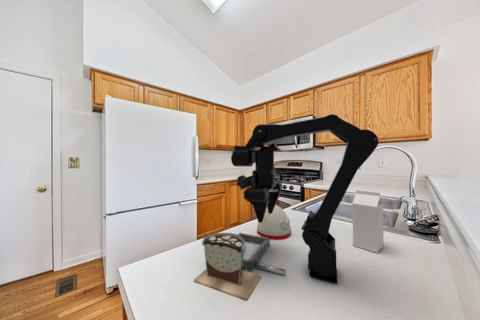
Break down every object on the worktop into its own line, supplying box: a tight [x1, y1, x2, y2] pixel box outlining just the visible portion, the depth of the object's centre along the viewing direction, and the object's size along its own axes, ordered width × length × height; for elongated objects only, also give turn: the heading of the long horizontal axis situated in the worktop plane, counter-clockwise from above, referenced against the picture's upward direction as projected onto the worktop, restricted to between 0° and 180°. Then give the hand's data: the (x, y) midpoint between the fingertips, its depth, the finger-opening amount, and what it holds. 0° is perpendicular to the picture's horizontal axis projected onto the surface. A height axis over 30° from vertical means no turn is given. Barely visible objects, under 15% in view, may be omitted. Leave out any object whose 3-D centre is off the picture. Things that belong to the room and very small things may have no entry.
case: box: [237, 232, 271, 272], centre depth 61 cm, size 12×17×2 cm
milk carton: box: [352, 189, 385, 254], centre depth 64 cm, size 7×7×19 cm
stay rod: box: [253, 261, 287, 276], centre depth 52 cm, size 10×1×1 cm, turn 63°
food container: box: [201, 232, 247, 286], centre depth 50 cm, size 12×6×10 cm, turn 65°
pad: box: [193, 269, 262, 302], centre depth 48 cm, size 15×9×1 cm, turn 63°
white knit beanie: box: [256, 199, 292, 241], centre depth 77 cm, size 14×14×15 cm
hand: (265, 217), depth 57 cm, fingers open, 9 cm apart
